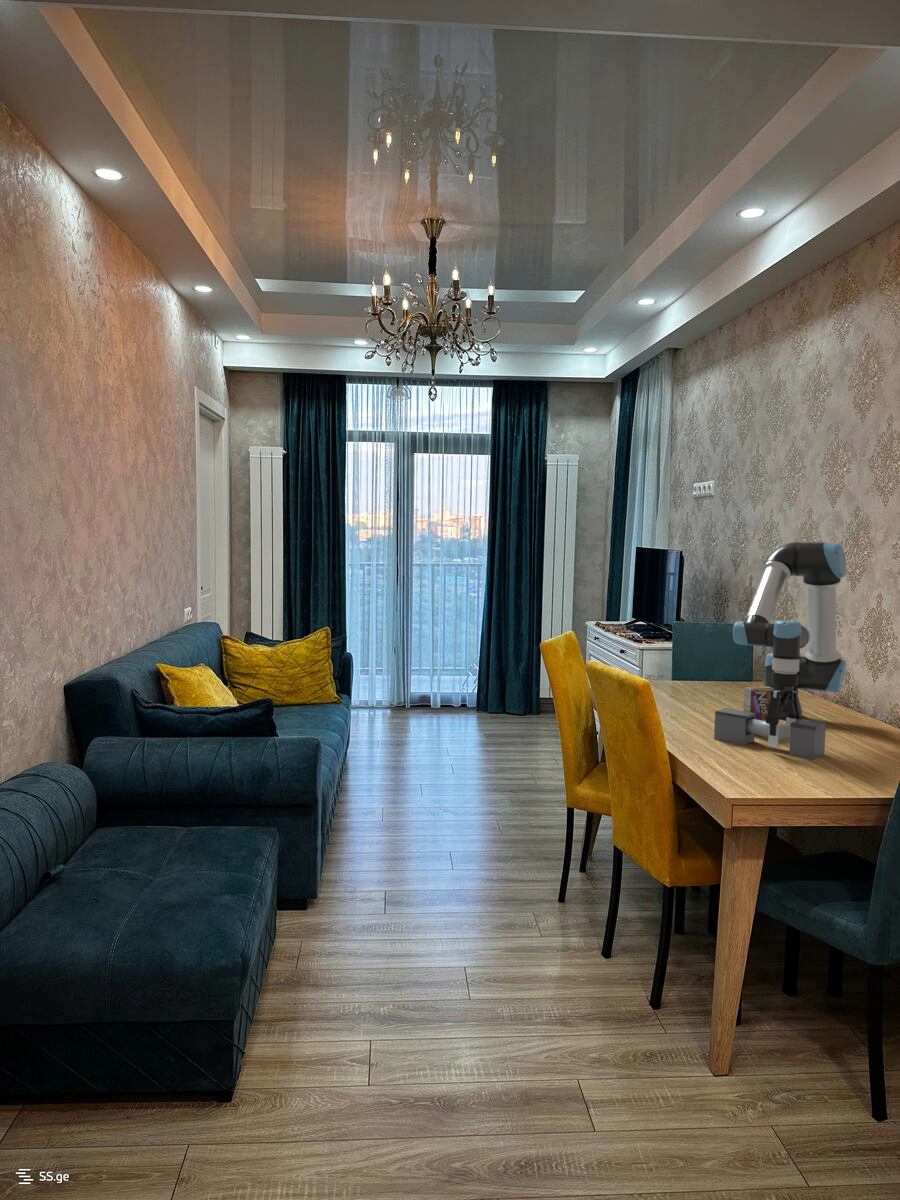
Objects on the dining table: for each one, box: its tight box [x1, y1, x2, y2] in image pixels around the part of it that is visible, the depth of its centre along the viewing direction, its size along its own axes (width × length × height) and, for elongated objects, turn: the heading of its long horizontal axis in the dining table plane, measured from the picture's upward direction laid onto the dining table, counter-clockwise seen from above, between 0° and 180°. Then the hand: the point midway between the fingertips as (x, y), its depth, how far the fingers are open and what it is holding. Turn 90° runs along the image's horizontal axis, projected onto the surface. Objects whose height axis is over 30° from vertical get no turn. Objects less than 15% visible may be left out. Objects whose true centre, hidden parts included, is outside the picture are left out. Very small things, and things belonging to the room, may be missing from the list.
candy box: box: [743, 686, 774, 736], centre depth 261 cm, size 9×4×15 cm, turn 104°
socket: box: [788, 718, 827, 760], centre depth 235 cm, size 7×8×10 cm
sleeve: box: [713, 707, 756, 746], centre depth 251 cm, size 10×7×9 cm
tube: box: [746, 718, 791, 742], centre depth 242 cm, size 20×5×5 cm, turn 45°
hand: (781, 742), depth 241 cm, fingers open, 12 cm apart
